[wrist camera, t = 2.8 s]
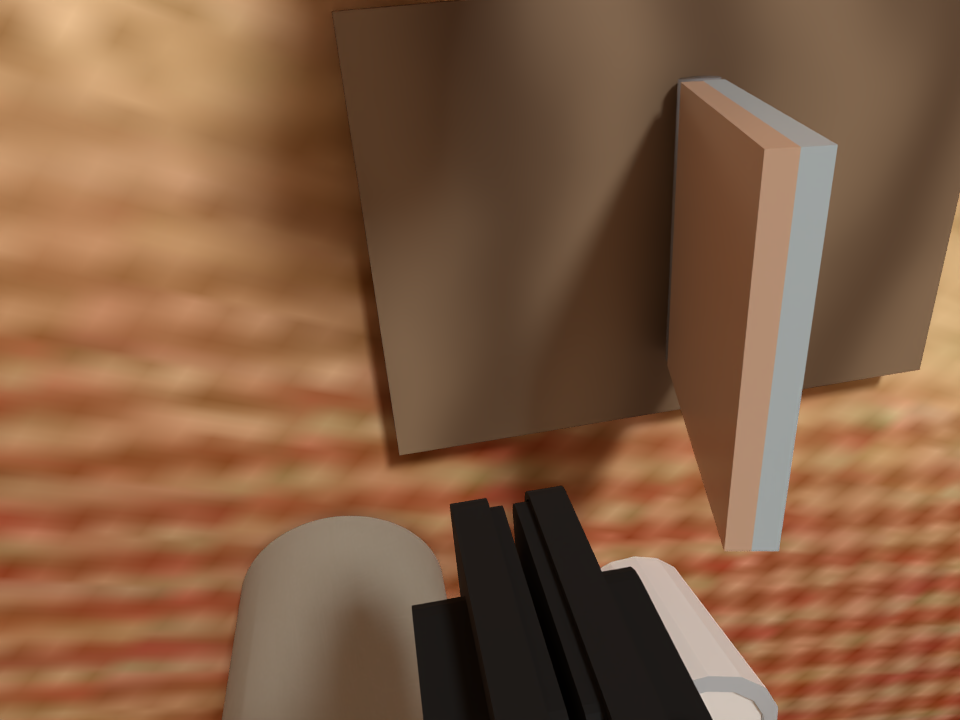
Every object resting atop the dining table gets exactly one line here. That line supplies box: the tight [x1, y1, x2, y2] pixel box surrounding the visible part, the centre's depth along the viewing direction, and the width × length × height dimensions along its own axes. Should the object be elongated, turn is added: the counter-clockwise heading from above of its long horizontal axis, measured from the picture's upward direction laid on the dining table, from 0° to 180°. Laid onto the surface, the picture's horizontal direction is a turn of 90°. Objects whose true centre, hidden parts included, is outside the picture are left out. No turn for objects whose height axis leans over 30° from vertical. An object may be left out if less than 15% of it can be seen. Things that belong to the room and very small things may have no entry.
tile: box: [665, 76, 838, 551], centre depth 19 cm, size 10×9×1 cm
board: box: [332, 0, 960, 455], centre depth 24 cm, size 20×14×2 cm
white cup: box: [600, 557, 778, 720], centre depth 30 cm, size 7×7×7 cm
